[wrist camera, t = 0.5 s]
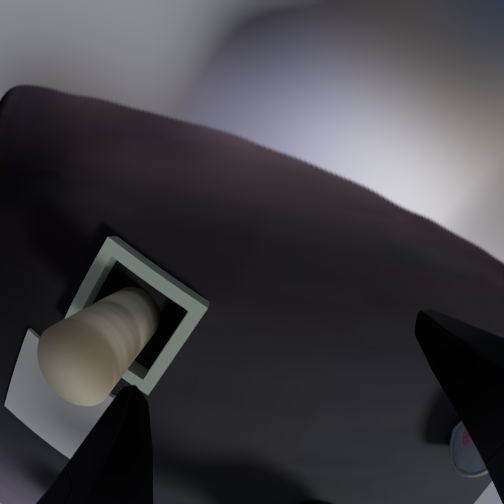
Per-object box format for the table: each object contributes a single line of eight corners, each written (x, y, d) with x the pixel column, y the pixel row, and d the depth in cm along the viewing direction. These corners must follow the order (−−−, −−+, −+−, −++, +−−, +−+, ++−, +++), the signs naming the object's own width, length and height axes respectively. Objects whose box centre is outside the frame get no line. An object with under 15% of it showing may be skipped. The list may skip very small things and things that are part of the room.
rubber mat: (90, 469, 24) (89, 472, 24) (6, 403, 23) (4, 405, 23) (131, 406, 24) (130, 409, 23) (30, 327, 23) (28, 329, 22)
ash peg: (143, 350, 24) (93, 421, 13) (100, 319, 23) (28, 368, 12) (170, 308, 24) (127, 363, 13) (124, 275, 23) (53, 305, 12)
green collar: (153, 384, 24) (148, 395, 22) (70, 323, 23) (59, 329, 21) (209, 302, 24) (207, 308, 22) (117, 236, 23) (107, 236, 21)
